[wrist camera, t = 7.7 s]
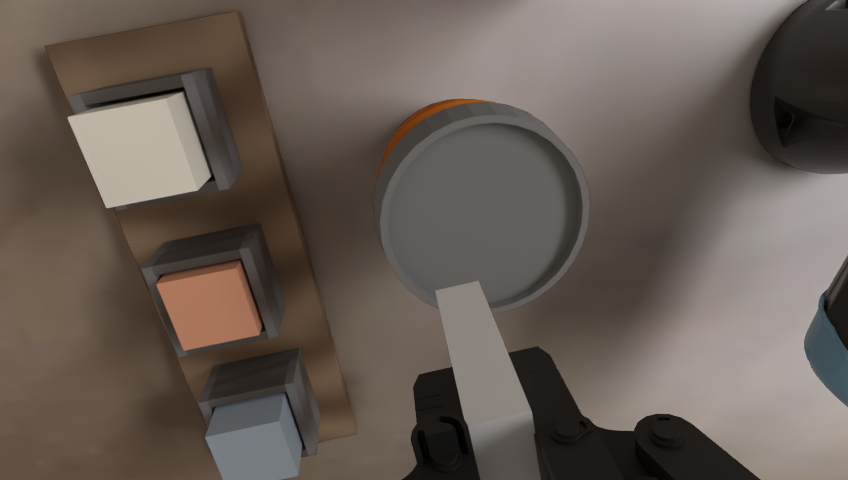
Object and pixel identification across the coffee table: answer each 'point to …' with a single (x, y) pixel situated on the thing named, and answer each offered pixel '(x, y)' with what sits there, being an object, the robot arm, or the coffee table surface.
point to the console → (222, 215)
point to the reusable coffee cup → (480, 203)
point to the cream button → (143, 148)
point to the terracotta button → (211, 304)
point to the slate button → (256, 439)
